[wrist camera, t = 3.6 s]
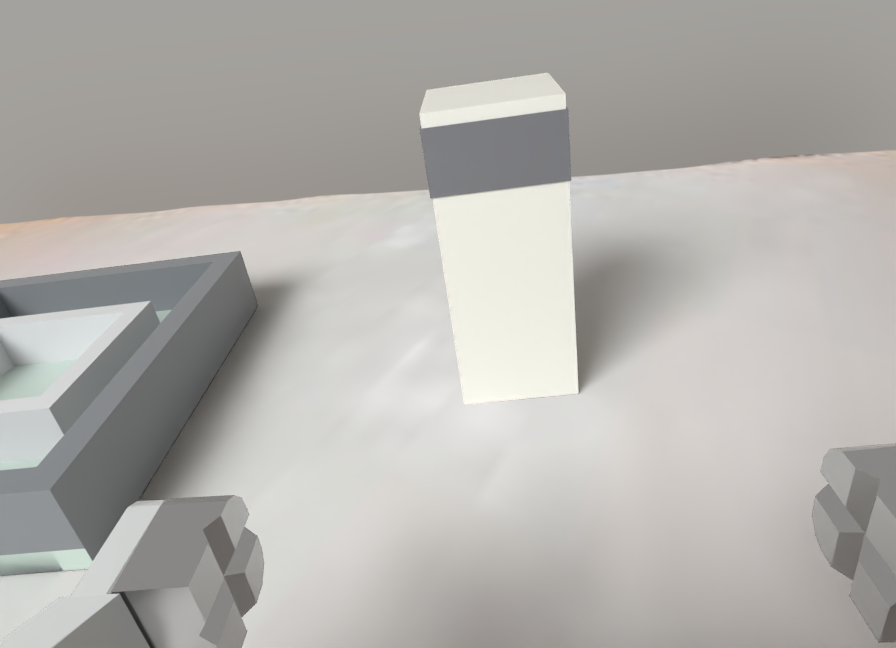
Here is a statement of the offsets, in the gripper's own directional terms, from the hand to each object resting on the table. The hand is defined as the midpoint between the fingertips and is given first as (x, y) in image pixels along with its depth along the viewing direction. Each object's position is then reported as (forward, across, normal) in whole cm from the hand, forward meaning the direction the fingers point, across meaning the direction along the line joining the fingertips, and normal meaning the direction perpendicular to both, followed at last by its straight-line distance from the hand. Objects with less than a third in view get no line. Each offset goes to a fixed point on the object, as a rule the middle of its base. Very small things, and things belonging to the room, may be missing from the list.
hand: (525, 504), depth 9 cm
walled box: (+13, +19, +7) cm, 24 cm away
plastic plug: (+13, 0, +6) cm, 15 cm away
